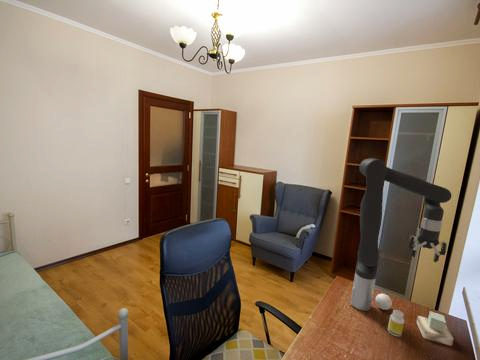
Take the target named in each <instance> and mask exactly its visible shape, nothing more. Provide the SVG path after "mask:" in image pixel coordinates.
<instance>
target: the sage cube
mask: <svg viewBox="0 0 480 360" xmlns="http://www.w3.org/2000/svg"><path fill="white" fill-rule="evenodd" d="M427 318H428V324H429V328H432V329H435V330H437V331H440V332H443V333H444V329H445V325H446V326H447V321H446V318H445V315H443V314H440V313H436V312H434V311H431V310H430V311H429V314H428V317H427Z"/></svg>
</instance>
